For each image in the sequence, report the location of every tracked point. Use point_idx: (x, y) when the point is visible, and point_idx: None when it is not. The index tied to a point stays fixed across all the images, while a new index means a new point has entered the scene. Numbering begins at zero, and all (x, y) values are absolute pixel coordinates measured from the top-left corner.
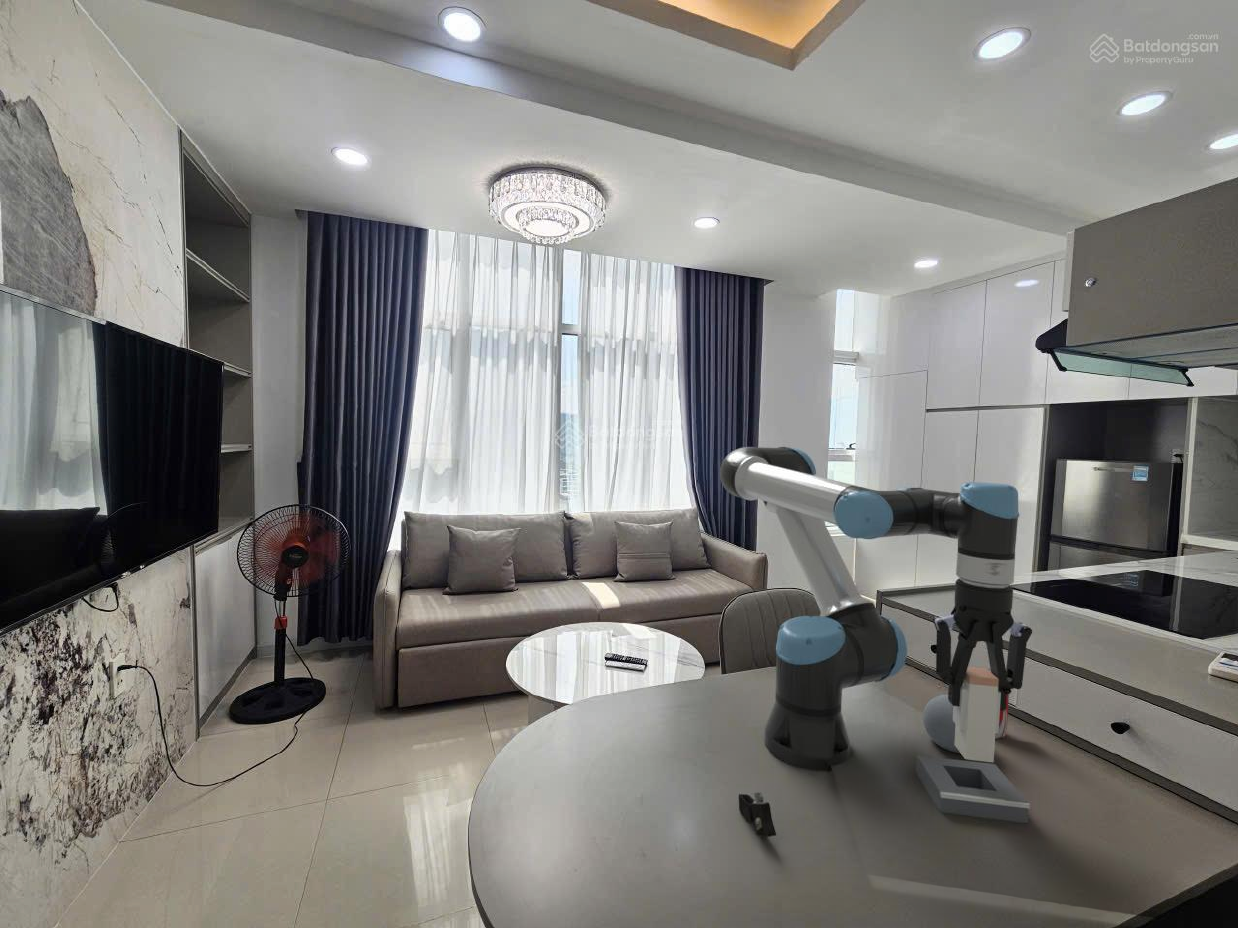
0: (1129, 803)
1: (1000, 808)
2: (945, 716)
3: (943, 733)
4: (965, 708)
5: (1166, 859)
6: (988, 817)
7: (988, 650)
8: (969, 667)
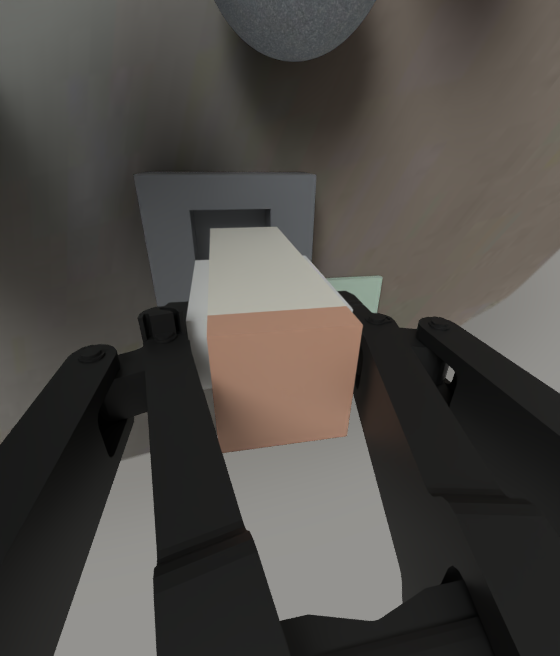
0: (518, 171)
1: None
2: None
3: (236, 29)
4: None
5: (445, 304)
6: None
7: (406, 469)
8: (267, 339)
